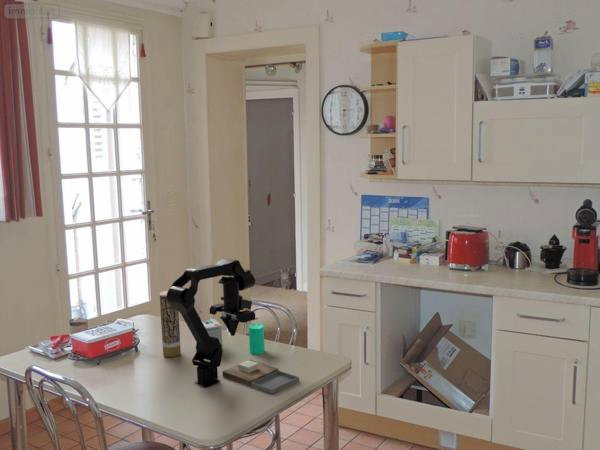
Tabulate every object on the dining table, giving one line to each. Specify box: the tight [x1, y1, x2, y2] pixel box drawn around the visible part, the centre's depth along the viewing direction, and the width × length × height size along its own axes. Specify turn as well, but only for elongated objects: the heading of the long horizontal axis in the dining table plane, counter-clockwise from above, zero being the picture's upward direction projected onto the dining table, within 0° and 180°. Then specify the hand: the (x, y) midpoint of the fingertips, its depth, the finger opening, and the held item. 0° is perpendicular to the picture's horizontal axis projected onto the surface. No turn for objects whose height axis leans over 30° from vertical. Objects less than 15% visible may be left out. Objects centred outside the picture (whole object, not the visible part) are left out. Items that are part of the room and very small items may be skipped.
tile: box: [237, 359, 258, 373], centre depth 224 cm, size 5×5×2 cm
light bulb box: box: [201, 318, 224, 350], centre depth 251 cm, size 11×7×11 cm, turn 25°
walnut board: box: [222, 359, 279, 387], centre depth 223 cm, size 14×14×2 cm
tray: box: [250, 369, 300, 395], centre depth 216 cm, size 14×10×2 cm
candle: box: [248, 323, 266, 355], centre depth 246 cm, size 6×6×12 cm
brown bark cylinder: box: [159, 290, 182, 358], centre depth 244 cm, size 7×7×25 cm
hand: (233, 335), depth 227 cm, fingers closed
